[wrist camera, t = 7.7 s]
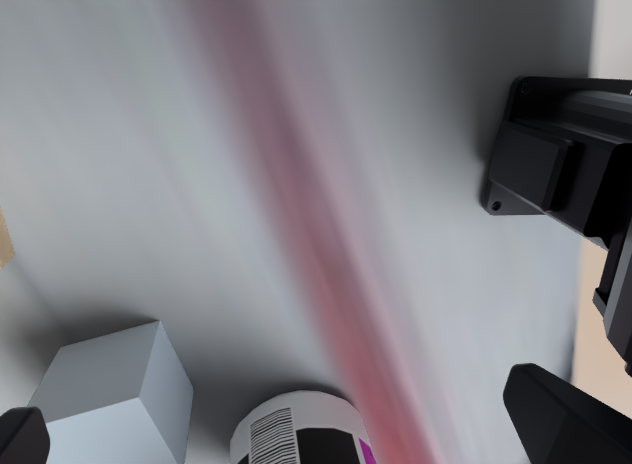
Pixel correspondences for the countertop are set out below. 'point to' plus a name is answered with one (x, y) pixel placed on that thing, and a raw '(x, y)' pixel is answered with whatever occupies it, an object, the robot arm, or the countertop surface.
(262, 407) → the supplement can
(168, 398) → the slate cube
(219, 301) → the countertop surface
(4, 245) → the maple block
